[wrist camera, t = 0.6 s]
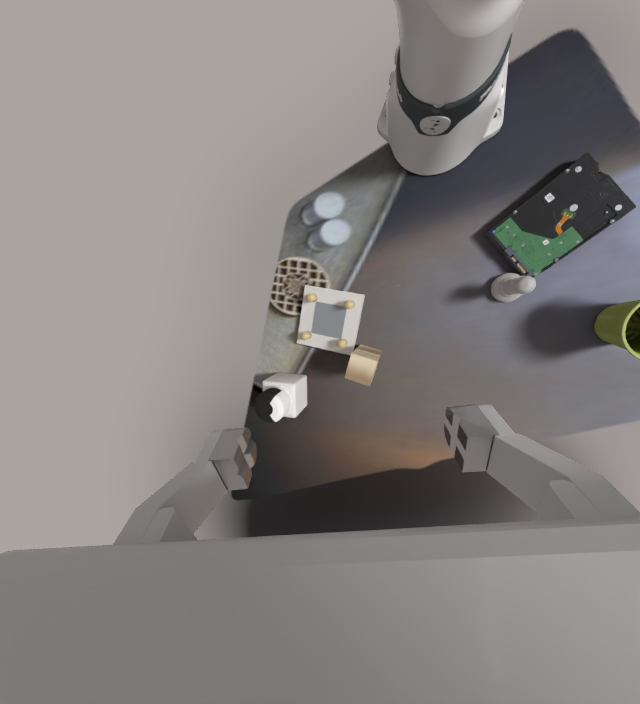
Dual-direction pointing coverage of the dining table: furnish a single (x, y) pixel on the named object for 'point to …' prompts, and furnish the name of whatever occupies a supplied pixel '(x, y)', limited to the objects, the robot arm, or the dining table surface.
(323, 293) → the white pegged board
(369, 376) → the maple block
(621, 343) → the plant pot
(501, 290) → the chess piece
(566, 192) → the disk drive
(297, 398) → the medicine bottle
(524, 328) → the dining table surface
